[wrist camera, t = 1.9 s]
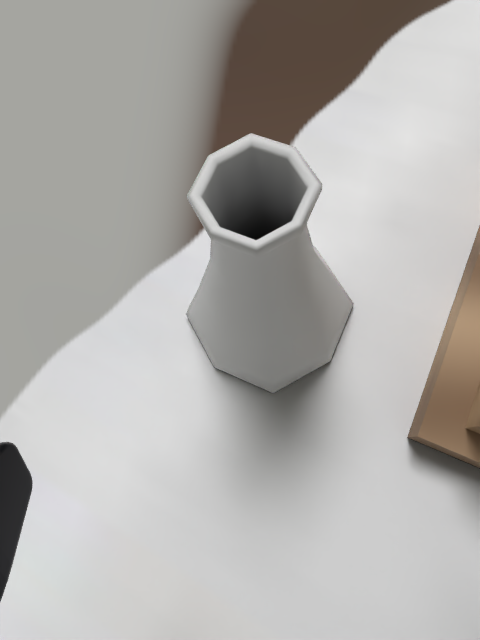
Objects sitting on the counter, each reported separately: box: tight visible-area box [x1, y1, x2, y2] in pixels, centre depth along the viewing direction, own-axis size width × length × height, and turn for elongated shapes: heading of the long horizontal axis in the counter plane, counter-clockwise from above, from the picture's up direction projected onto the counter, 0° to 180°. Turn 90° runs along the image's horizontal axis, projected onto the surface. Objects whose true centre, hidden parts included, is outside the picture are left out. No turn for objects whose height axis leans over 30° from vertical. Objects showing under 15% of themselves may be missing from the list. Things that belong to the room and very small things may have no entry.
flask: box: [186, 134, 354, 393], centre depth 16 cm, size 7×7×10 cm
